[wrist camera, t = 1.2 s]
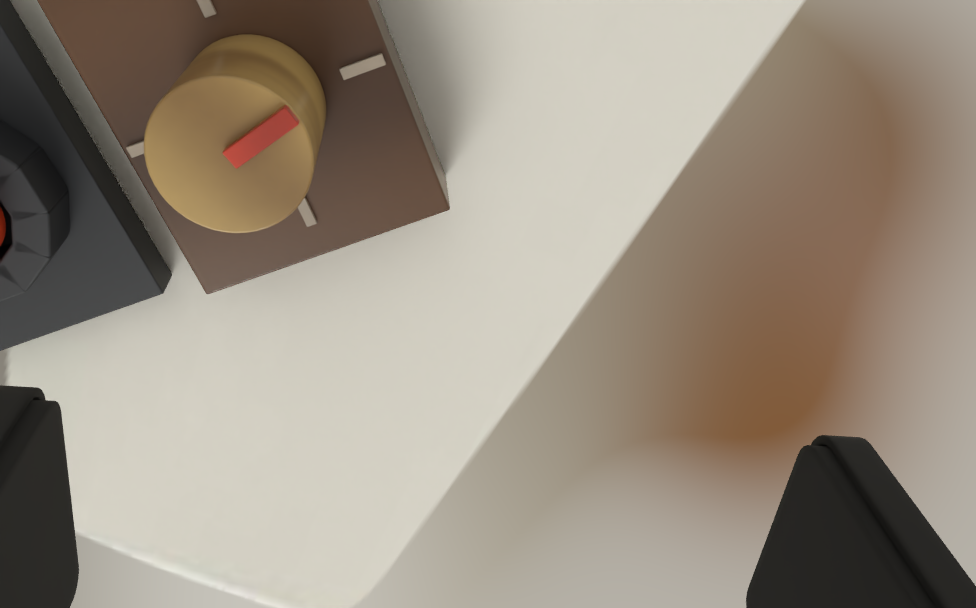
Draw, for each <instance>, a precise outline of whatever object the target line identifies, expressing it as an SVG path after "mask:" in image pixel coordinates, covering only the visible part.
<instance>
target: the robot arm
mask: <svg viewBox="0 0 976 608" xmlns="http://www.w3.org/2000/svg"><path fill="white" fill-rule="evenodd" d="M78 567H79V565H78V556H77V548H76V540H75V530H74V521H73V512H72V504H71V495H70V486H69V477H68V469H67V460H66V451H65V442H64V434H63V425H62V416H61V410H60V406H59V404H58V402H56V401H46V400H45V396H44V393H43V392H42V390H41V389H39V388H33V387H17V386H0V608H70V606H71V603H72V601H73V598H74V595H75V592H76V588H77V582H78V574H79V568H78ZM746 605H747V608H976V586H975V585H974V583H973V582H972V581H971V579H970V578H969V577H968V575H967V574H966V572H965V571H964V570H963V568H962V567H961V566H960V564H959V563H958V562H957V560H956V559H955V558H954V556H953V555H952V554H951V552H950V551H949V550H948V548H947V547H946V545H945V544H944V543H943V541H942V540H941V539H940V537H939V536H938V535H937V533H936V532H935V531H934V529H933V528H932V527H931V525H930V524H929V522H928V521H927V520H926V519H925V517H924V516H923V514H922V513H921V512H920V510H919V509H918V508H917V506H916V505H915V504H914V502H913V501H912V500H911V498H910V497H909V495H908V494H907V493H906V491H905V490H904V489H903V487H902V486H901V485H900V483H899V482H898V481H897V479H896V478H895V477H894V476H893V474H892V473H891V471H890V470H889V468H888V467H887V466H886V465H885V463H884V462H883V460H882V459H881V458H880V456H879V455H878V454H877V452H876V451H875V450H874V448H873V447H872V446H871V444H870V443H869V442H868V441H866V440H865V439H863V438H860V437H844V436H827V435H822V436H818V437H817V438H816V439H815V440H814V441H813V442H812V444H811V445H807V446H804V447H803V448H802V449H801V450H800V452H799V454H798V456H797V459H796V462H795V464H794V467H793V470H792V473H791V475H790V478H789V480H788V483H787V486H786V489H785V491H784V494H783V497H782V499H781V502H780V505H779V507H778V510H777V513H776V515H775V518H774V521H773V523H772V526H771V529H770V531H769V534H768V537H767V540H766V542H765V545H764V548H763V550H762V553H761V555H760V558H759V561H758V564H757V566H756V569H755V572H754V574H753V577H752V580H751V582H750V585H749V588H748V591H747V598H746Z"/></svg>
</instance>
